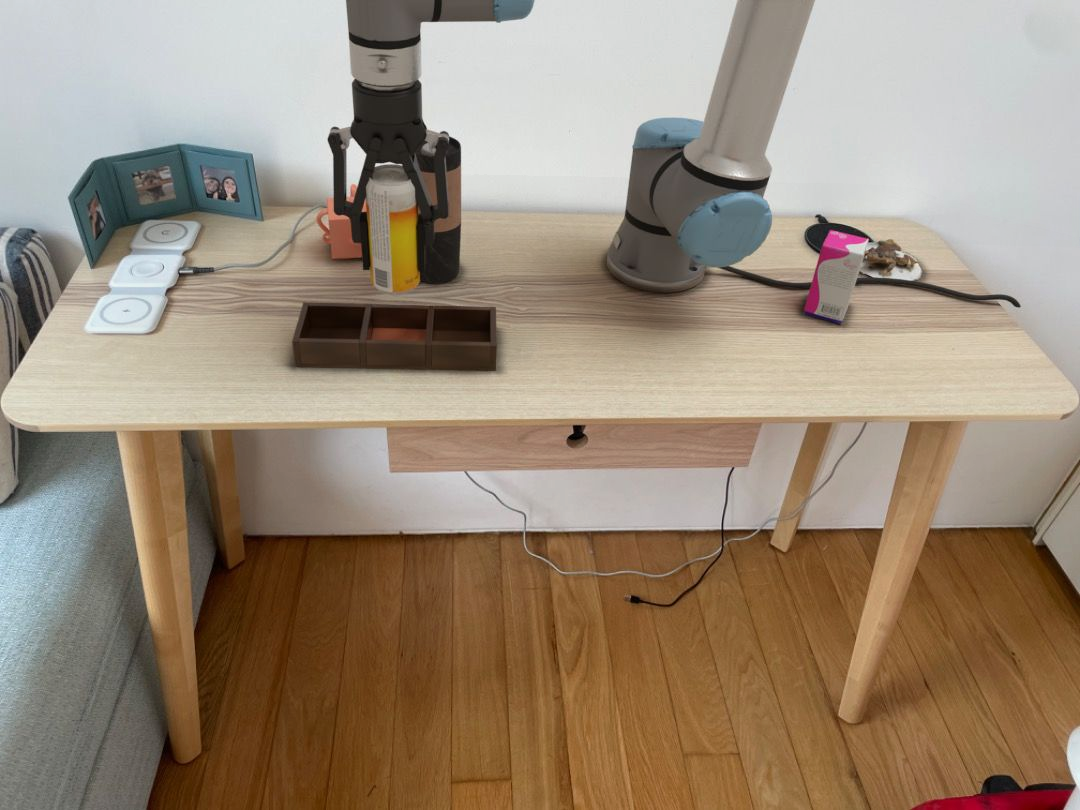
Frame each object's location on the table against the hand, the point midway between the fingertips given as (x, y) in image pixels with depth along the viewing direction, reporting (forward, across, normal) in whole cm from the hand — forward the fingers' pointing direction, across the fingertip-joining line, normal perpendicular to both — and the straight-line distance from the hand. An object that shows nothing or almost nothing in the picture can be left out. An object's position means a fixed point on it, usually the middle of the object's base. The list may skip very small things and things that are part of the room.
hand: (394, 265), depth 112 cm
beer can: (+3, 0, 0) cm, 3 cm away
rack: (+13, 0, 0) cm, 13 cm away
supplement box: (+13, +62, +12) cm, 65 cm away
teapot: (+13, -8, +26) cm, 30 cm away
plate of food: (+13, +76, +26) cm, 81 cm away
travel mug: (+13, +4, +20) cm, 24 cm away
